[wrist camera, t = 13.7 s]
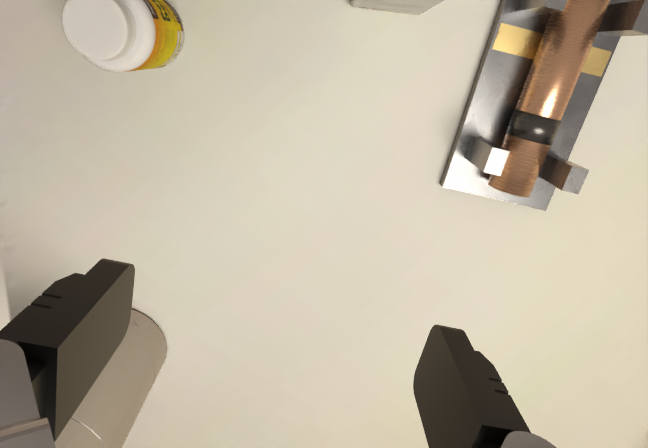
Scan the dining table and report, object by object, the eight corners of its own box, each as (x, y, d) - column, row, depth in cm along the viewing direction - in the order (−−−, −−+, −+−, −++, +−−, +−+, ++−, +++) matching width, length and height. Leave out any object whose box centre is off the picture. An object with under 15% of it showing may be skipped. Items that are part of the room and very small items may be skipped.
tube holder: (540, 207, 43) (574, 230, 37) (439, 184, 42) (458, 205, 37) (640, -27, 36) (699, -41, 31) (521, -61, 35) (560, -81, 30)
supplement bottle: (198, 21, 37) (156, 12, 27) (167, 81, 39) (117, 92, 29) (134, -22, 36) (68, -47, 26) (105, 41, 37) (32, 39, 28)
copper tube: (558, -30, 35) (583, -39, 32) (603, -18, 35) (632, -25, 32) (481, 179, 41) (495, 191, 38) (520, 188, 41) (537, 200, 38)
